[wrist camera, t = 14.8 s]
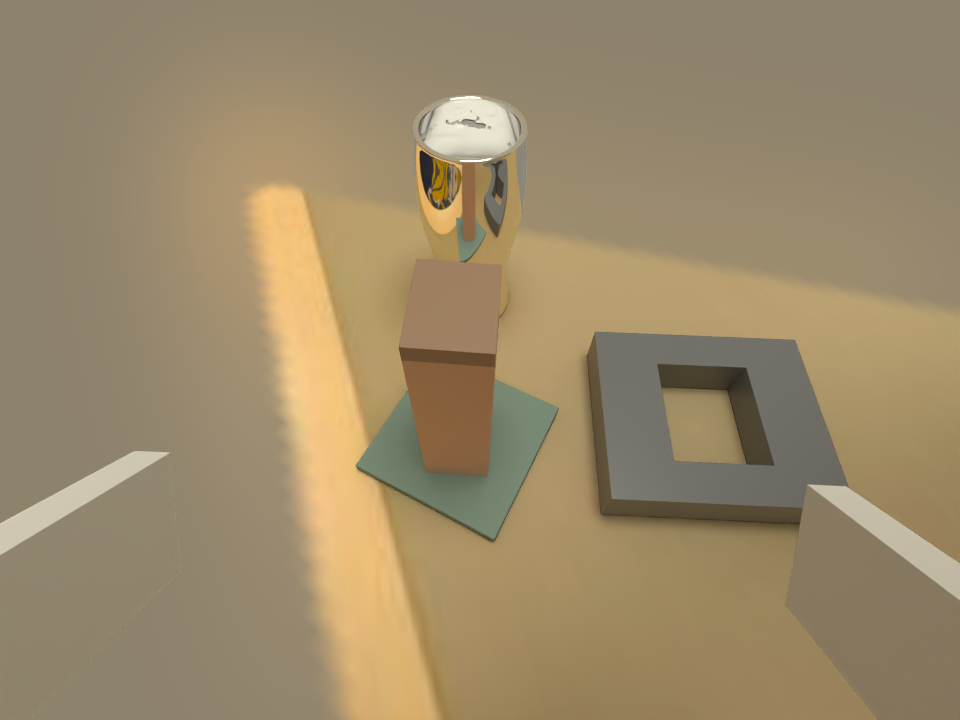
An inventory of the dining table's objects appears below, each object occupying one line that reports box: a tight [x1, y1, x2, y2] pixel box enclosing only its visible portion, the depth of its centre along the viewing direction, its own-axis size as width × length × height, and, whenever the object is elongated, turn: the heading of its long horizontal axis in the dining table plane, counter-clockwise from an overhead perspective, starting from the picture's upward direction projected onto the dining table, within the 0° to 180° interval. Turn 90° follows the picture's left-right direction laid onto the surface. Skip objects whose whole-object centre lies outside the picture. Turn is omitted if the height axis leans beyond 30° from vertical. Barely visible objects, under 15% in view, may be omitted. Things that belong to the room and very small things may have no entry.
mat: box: [356, 380, 559, 542], centre depth 34 cm, size 10×10×1 cm
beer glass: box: [413, 95, 527, 317], centre depth 35 cm, size 7×7×15 cm
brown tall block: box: [399, 259, 502, 477], centre depth 28 cm, size 4×5×14 cm
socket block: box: [587, 332, 849, 524], centre depth 34 cm, size 14×12×3 cm
